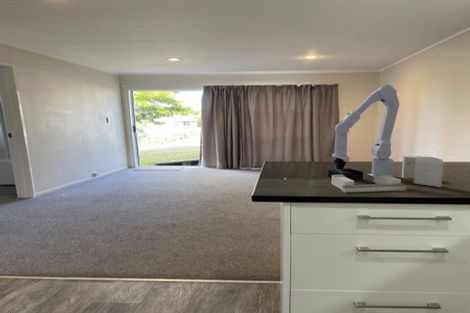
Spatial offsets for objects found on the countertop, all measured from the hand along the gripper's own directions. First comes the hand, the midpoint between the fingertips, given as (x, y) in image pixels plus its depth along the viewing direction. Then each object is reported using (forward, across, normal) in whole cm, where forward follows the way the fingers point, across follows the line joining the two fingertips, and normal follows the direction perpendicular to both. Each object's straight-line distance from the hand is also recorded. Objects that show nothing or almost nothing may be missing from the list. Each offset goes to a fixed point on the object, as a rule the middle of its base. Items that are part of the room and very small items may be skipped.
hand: (339, 173), depth 138 cm
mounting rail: (+1, +30, 0) cm, 30 cm away
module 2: (+1, +23, +10) cm, 25 cm away
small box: (+1, +10, +32) cm, 33 cm away
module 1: (+1, +23, -10) cm, 25 cm away
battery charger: (+2, +7, 0) cm, 7 cm away
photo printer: (+1, +24, +28) cm, 37 cm away
